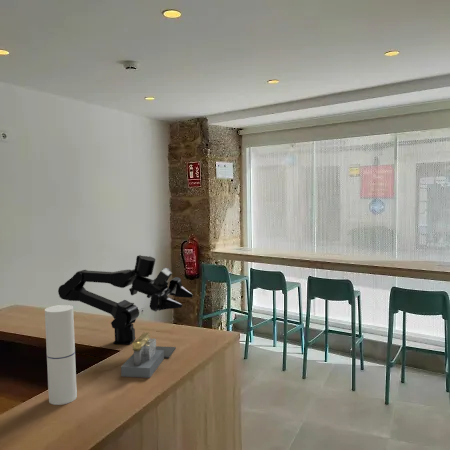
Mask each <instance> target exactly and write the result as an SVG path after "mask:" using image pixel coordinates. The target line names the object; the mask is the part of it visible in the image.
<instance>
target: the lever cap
mask: <svg viewBox="0 0 450 450" xmlns="http://www.w3.org/2000/svg"><path fill="white" fill-rule="evenodd" d="M156 346H157V338H151V337H149V340H148V341H147V342H146V343H145V345H144V346H143V347H142V348H141V350H140V352H141V360H150V359H151V358H152V357H153V355H154V354H155V353H156Z"/></svg>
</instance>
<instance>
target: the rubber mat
mask: <svg viewBox="0 0 450 450" xmlns="http://www.w3.org/2000/svg"><path fill="white" fill-rule="evenodd" d="M156 350H164V359H170V357H171V356H172V354H173V353H174V352H175V351H176V346H161V345H159V346H158V345H156Z"/></svg>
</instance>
